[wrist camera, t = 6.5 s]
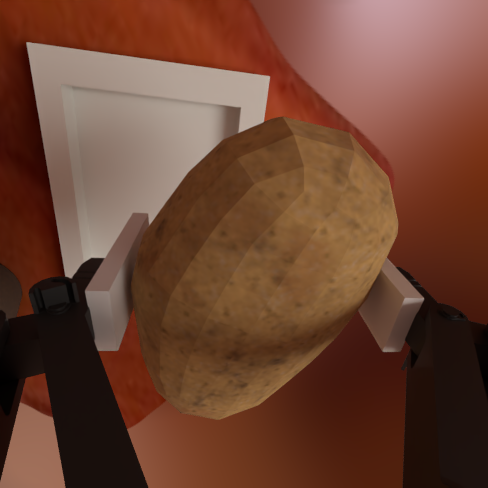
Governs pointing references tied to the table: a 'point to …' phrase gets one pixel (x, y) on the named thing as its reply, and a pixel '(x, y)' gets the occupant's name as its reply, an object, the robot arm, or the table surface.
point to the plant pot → (9, 292)
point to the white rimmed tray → (128, 135)
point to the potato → (259, 263)
